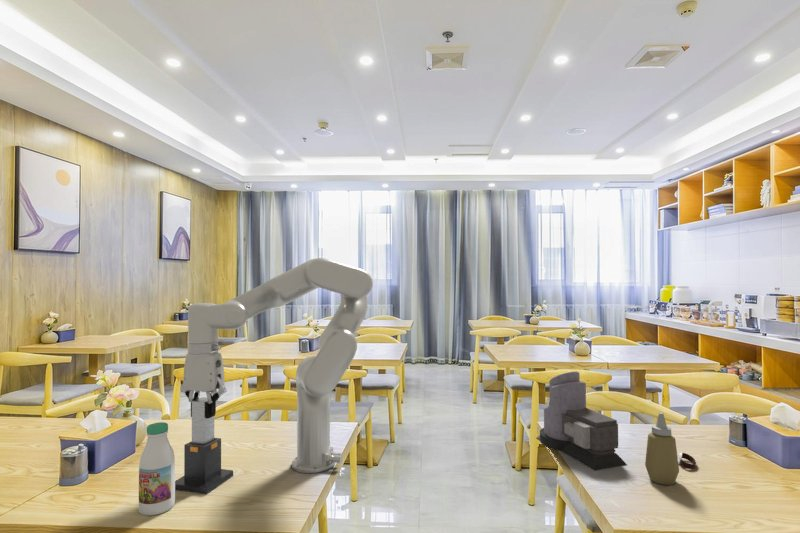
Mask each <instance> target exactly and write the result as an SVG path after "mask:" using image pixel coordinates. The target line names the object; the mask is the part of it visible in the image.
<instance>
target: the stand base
mask: <svg viewBox="0 0 800 533" xmlns="http://www.w3.org/2000/svg"><path fill="white" fill-rule="evenodd" d="M183 447H184V450H183V452H184V455H183V456H184V460H183V461H184V467H183V468H184V469H183V471H184V472H183V474H184V475H183V476H181V477H179V478H178V479H175V491H179V492H187V493H188V492H189V493H194V494H195V493H196V494H202V495H209V493H212V491H213V490H215V489H217V488H218V487H220V486H221V485H222V484H224V483H226V482H227V481H228V480H229V479H231V478H233V477H234V470H232V469H224V468H222V437H221V438H220V437H214V441H212V442H211V443H209V444H207V445H205V446H203V445H194V444H192V440H191V441H189V442H187V443H185V444H184V446H183Z"/></svg>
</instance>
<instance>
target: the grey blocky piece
mask: <svg viewBox="0 0 800 533" xmlns="http://www.w3.org/2000/svg"><path fill="white" fill-rule="evenodd" d="M580 380H581V379H580V372H579V371H569V372H563V373H561V374H558V375H556V376H555V375H554V377H552V378H550V380H549V385H548V386H549V402H548V405H547V406H545V407H544V408H543V427H542V428H541V429H540V430H539V435H538V436H537V437H535V439H536V440H538V441H539V442H540V443H541V444H542V445H543V446H544V447H547V448H549V449H551V450H554V451H557V452H558V451H560V452H562V453H564V454H565V455H567V456H568V457H570V458H572V459H574V460H576V461H577V462H579V463H581V464H583V465H584V466H586V467H587V468H590V469H591V470H592V471H595V472H596V471H600V470H606V469H607V470H608V469H612V468H620V467H626V466H628V464H627V463H626V462H625V461H624V460H623V459H622V457H621V456H620V455H618V453H616V449H619V423H618V422H617V419H614V418H612V417H611V416H610V417H609V416H608V415H605V414H602V413H600V412H597V411H595V410H593V409H590V408H587V391H586V390H587V387H586V386H587V383H586V382H585V381H580Z"/></svg>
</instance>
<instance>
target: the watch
mask: <svg viewBox="0 0 800 533" xmlns="http://www.w3.org/2000/svg"><path fill="white" fill-rule="evenodd" d="M677 457H678V465H680V466H682V467H683V468H685V469H687V470H688V469H689V470H693V469H695V467H696V464H697V461H696V460H695V458H694V457H693V456H692V455H690V454H688V453H685V452H683V451H682V452H679V454H678V456H677ZM683 459H685V460H687V461H689V462H690V463H689V462H686V461H685V460H683Z"/></svg>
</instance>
